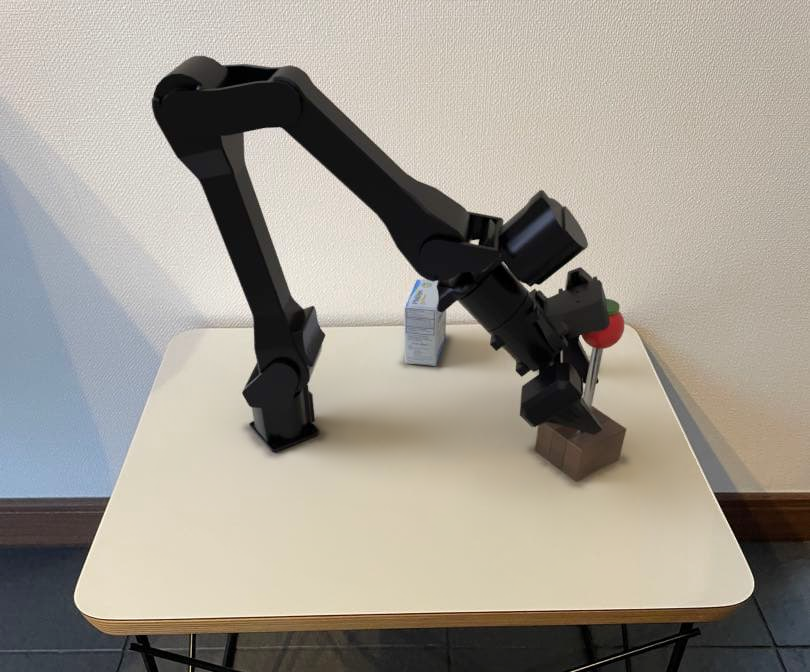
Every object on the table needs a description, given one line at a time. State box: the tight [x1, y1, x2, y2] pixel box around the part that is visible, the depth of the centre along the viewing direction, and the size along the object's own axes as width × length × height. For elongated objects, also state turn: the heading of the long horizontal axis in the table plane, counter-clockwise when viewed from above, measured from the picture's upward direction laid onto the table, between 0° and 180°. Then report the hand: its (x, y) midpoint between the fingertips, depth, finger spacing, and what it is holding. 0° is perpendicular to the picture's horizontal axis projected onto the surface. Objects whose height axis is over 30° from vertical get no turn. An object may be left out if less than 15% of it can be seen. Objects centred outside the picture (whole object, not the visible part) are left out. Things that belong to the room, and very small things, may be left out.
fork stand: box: [534, 405, 627, 483], centre depth 89 cm, size 7×7×4 cm
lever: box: [581, 298, 625, 433], centre depth 83 cm, size 4×4×19 cm
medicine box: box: [403, 279, 447, 367], centre depth 104 cm, size 8×4×9 cm, turn 168°
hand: (596, 407), depth 85 cm, fingers open, 9 cm apart
